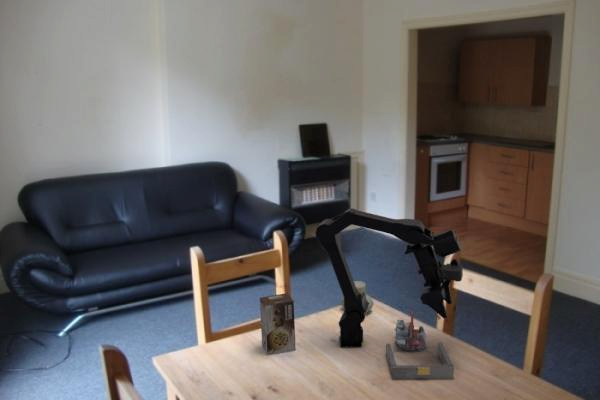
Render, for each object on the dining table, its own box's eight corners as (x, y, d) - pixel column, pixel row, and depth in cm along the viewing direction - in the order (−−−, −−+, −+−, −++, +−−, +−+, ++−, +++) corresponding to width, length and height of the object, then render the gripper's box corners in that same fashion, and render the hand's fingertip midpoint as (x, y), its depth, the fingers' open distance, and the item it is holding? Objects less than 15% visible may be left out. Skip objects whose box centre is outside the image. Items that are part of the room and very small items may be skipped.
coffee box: (289, 341, 175) (288, 292, 171) (296, 350, 169) (294, 300, 165) (261, 346, 172) (259, 296, 168) (266, 355, 166) (264, 305, 162)
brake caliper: (434, 348, 163) (409, 316, 163) (403, 366, 167) (379, 335, 166) (434, 331, 174) (411, 300, 174) (405, 348, 178) (382, 318, 177)
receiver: (392, 380, 152) (393, 368, 151) (385, 354, 166) (385, 343, 165) (453, 379, 151) (454, 368, 151) (441, 353, 165) (442, 342, 164)
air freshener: (338, 308, 197) (337, 281, 195) (356, 303, 202) (356, 276, 200) (358, 319, 189) (358, 291, 186) (376, 313, 193) (377, 286, 191)
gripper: (449, 266, 149) (471, 319, 151) (458, 243, 165) (478, 290, 167) (410, 277, 154) (432, 328, 156) (423, 253, 170) (442, 299, 172)
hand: (448, 310), depth 162 cm, fingers open, 9 cm apart
